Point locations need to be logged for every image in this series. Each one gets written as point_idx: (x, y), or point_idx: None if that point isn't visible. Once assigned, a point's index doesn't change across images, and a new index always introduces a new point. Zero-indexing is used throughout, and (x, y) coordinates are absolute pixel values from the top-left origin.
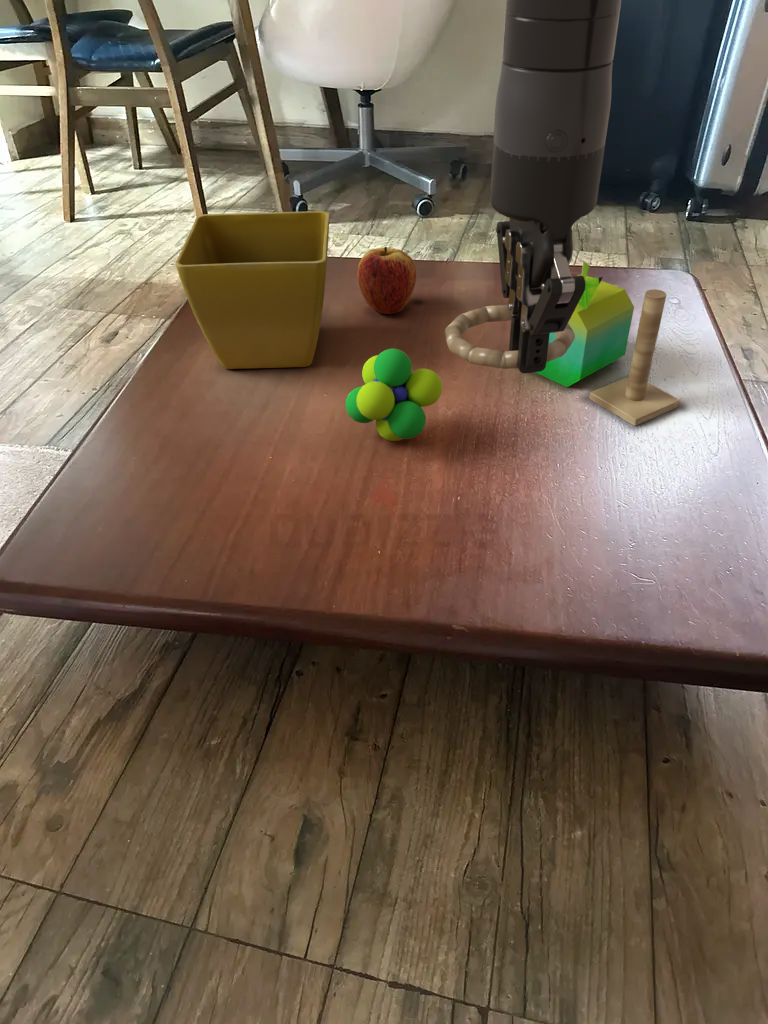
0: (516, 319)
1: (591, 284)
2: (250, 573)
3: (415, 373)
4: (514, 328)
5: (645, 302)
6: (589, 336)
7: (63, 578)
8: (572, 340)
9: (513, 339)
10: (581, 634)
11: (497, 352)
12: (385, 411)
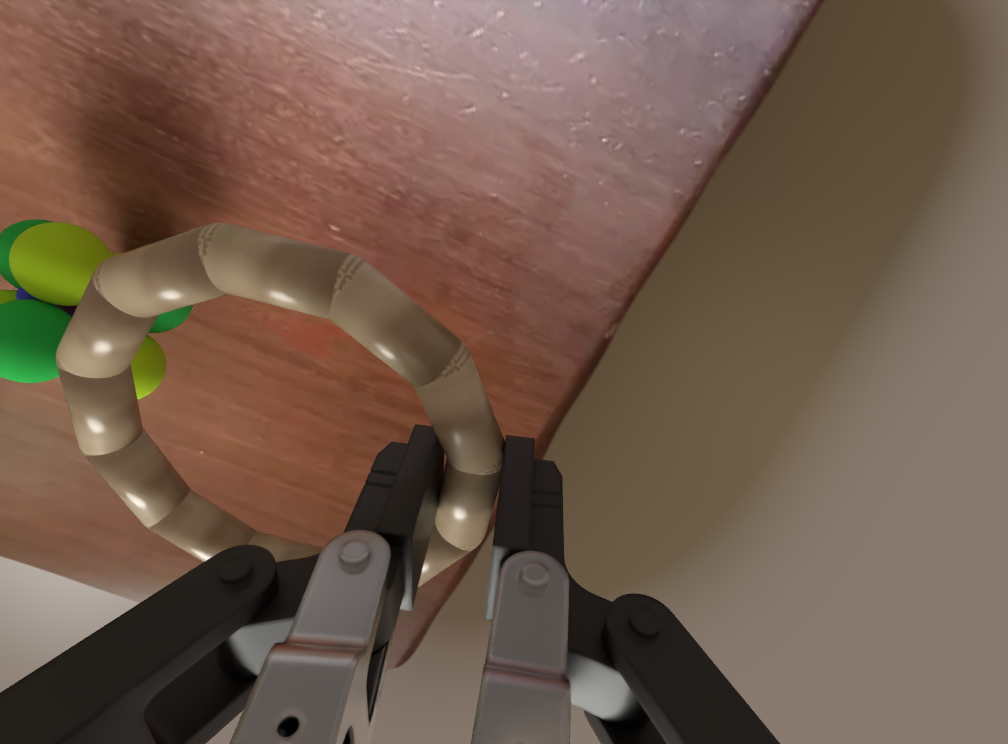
0: (412, 606)
1: None
2: None
3: (39, 294)
4: (419, 577)
5: None
6: None
7: (400, 640)
8: (388, 286)
9: (428, 543)
10: (702, 168)
11: (446, 557)
12: (156, 355)
